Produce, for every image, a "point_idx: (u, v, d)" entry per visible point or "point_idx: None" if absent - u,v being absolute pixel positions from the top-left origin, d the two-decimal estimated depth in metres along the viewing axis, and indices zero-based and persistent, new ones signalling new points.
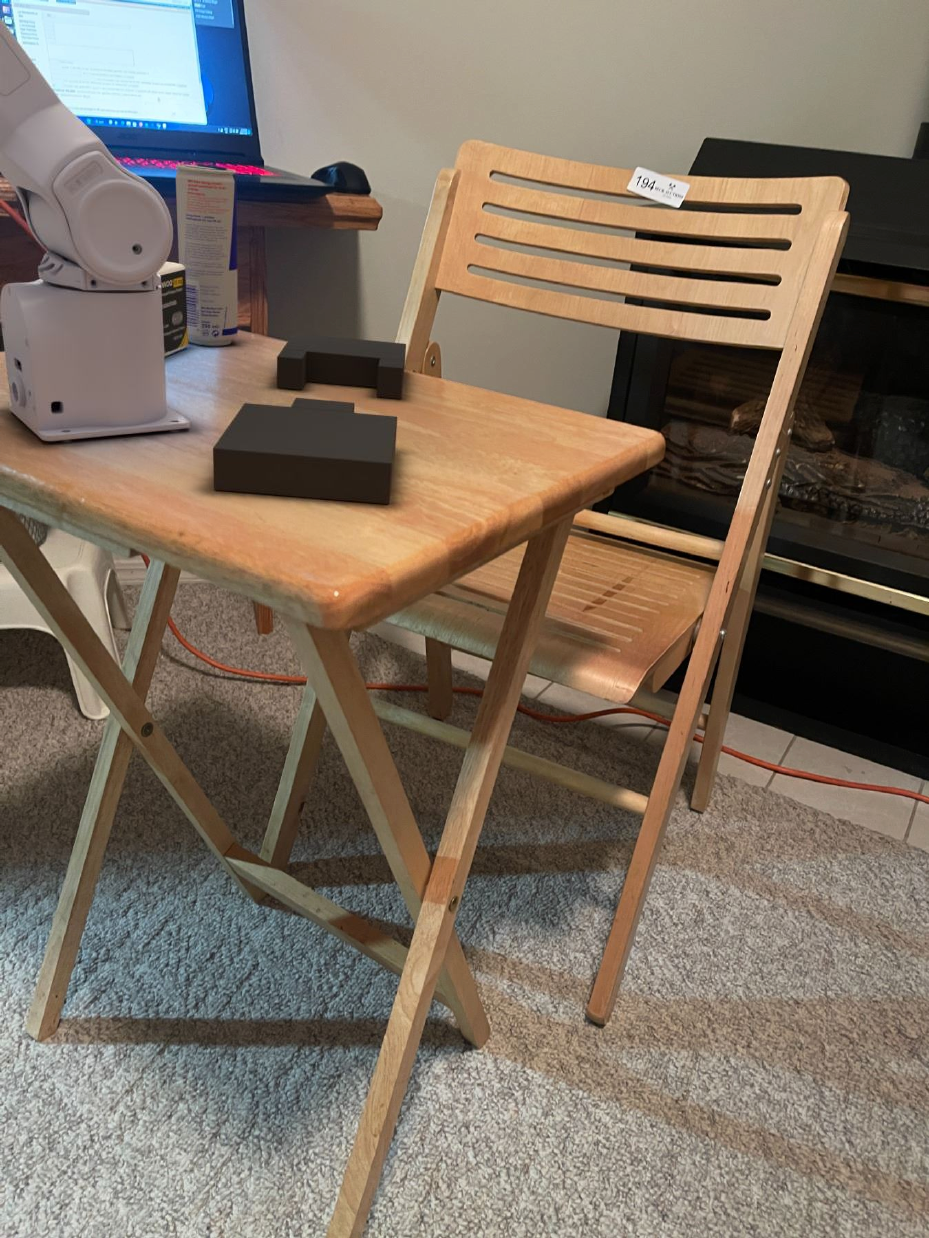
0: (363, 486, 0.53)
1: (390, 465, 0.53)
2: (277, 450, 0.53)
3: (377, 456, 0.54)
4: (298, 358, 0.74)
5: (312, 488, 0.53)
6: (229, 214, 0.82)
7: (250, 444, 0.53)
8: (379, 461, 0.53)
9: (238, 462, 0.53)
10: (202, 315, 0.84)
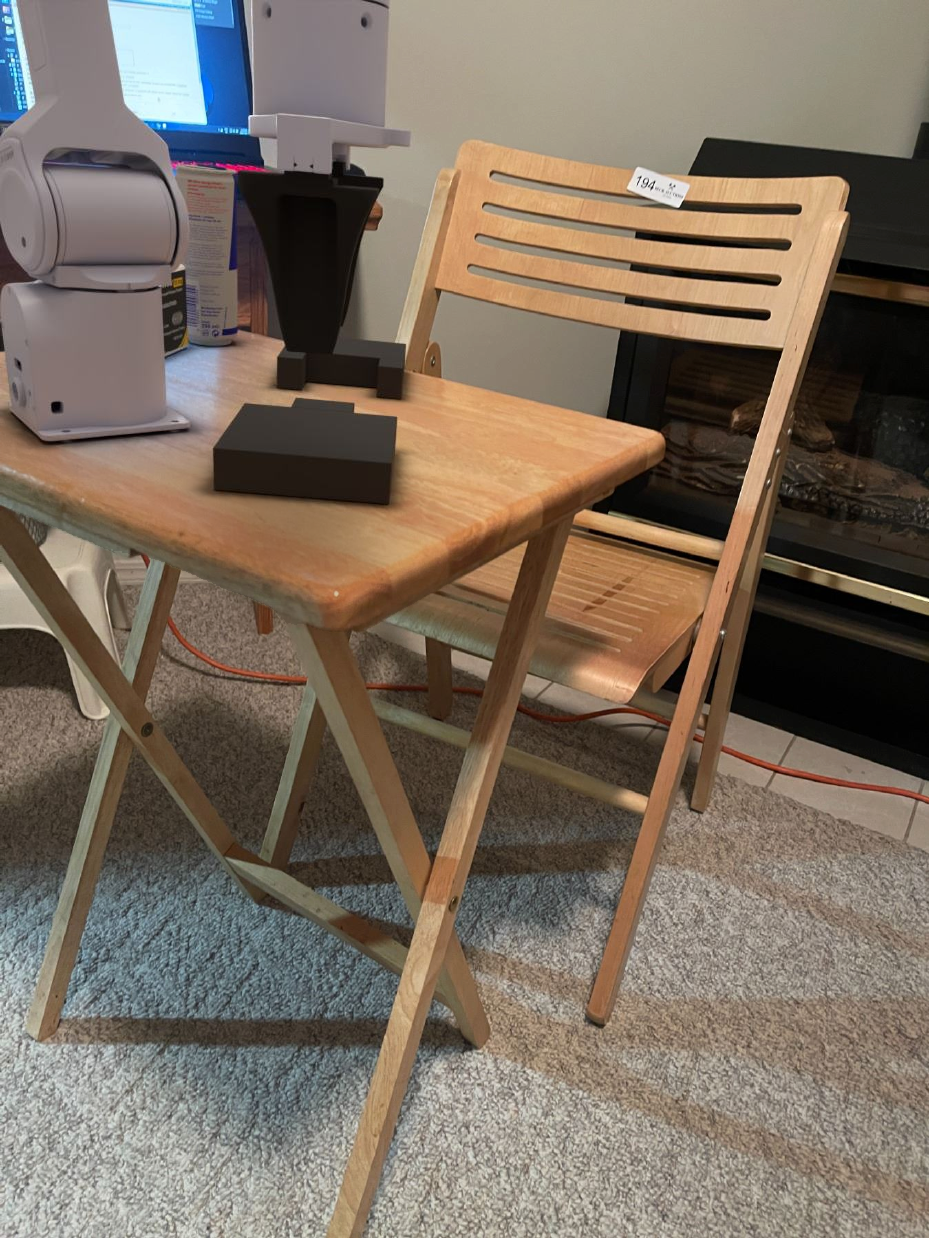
0: (363, 486, 0.53)
1: (390, 465, 0.53)
2: (277, 450, 0.53)
3: (377, 456, 0.54)
4: (298, 358, 0.74)
5: (312, 488, 0.53)
6: (229, 214, 0.82)
7: (250, 444, 0.53)
8: (379, 461, 0.53)
9: (238, 462, 0.53)
10: (202, 315, 0.84)
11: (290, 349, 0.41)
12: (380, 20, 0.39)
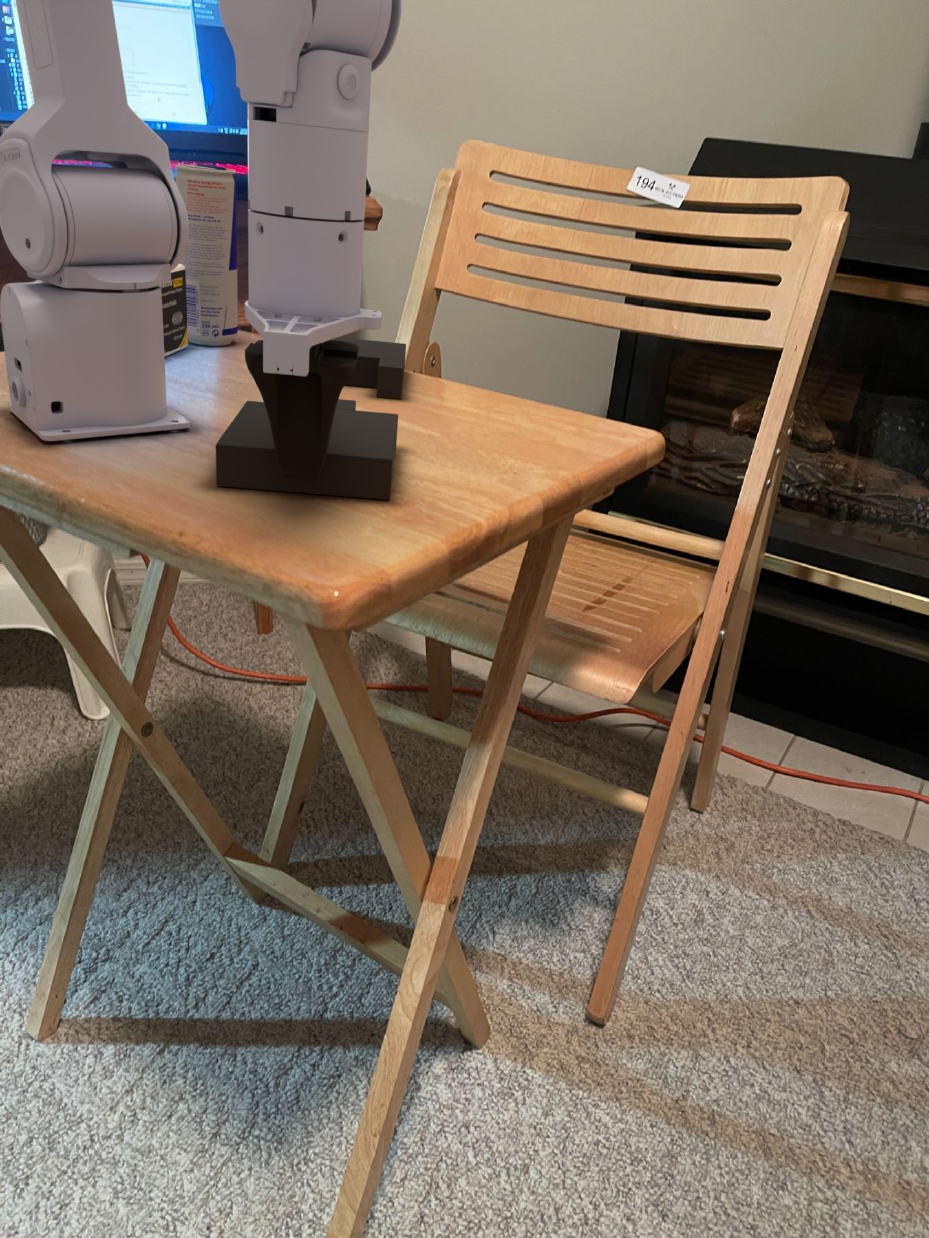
0: (364, 482, 0.54)
1: (391, 461, 0.54)
2: None
3: (378, 452, 0.54)
4: None
5: (314, 484, 0.54)
6: (228, 214, 0.82)
7: (252, 440, 0.54)
8: (380, 457, 0.53)
9: (240, 458, 0.53)
10: (202, 315, 0.84)
11: (285, 476, 0.52)
12: (355, 233, 0.46)
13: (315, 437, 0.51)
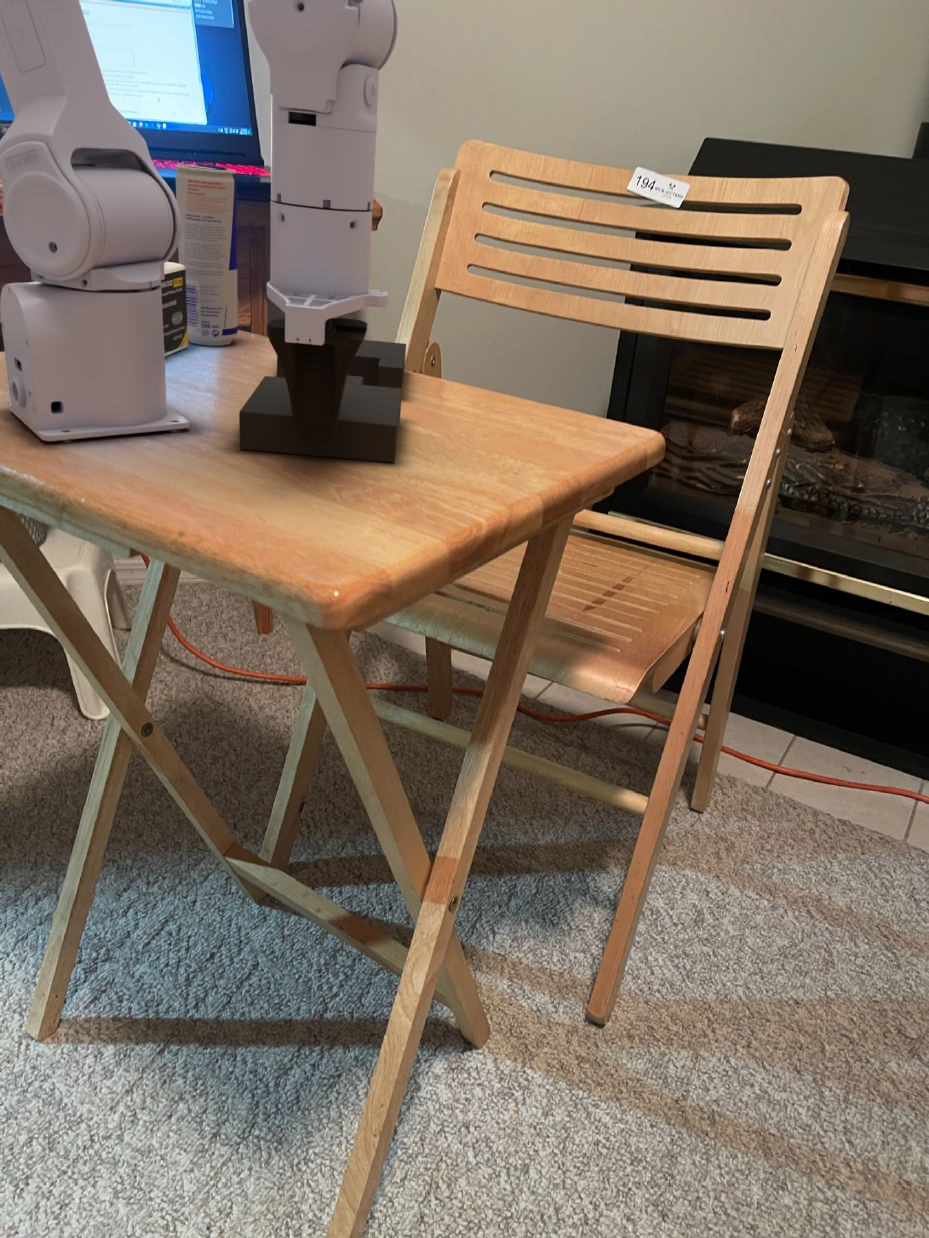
0: (371, 446, 0.60)
1: (395, 427, 0.60)
2: None
3: (384, 420, 0.61)
4: None
5: (326, 448, 0.60)
6: (228, 214, 0.82)
7: (272, 408, 0.60)
8: (386, 423, 0.60)
9: (261, 424, 0.59)
10: (202, 315, 0.84)
11: (301, 439, 0.58)
12: (365, 221, 0.52)
13: (328, 404, 0.57)
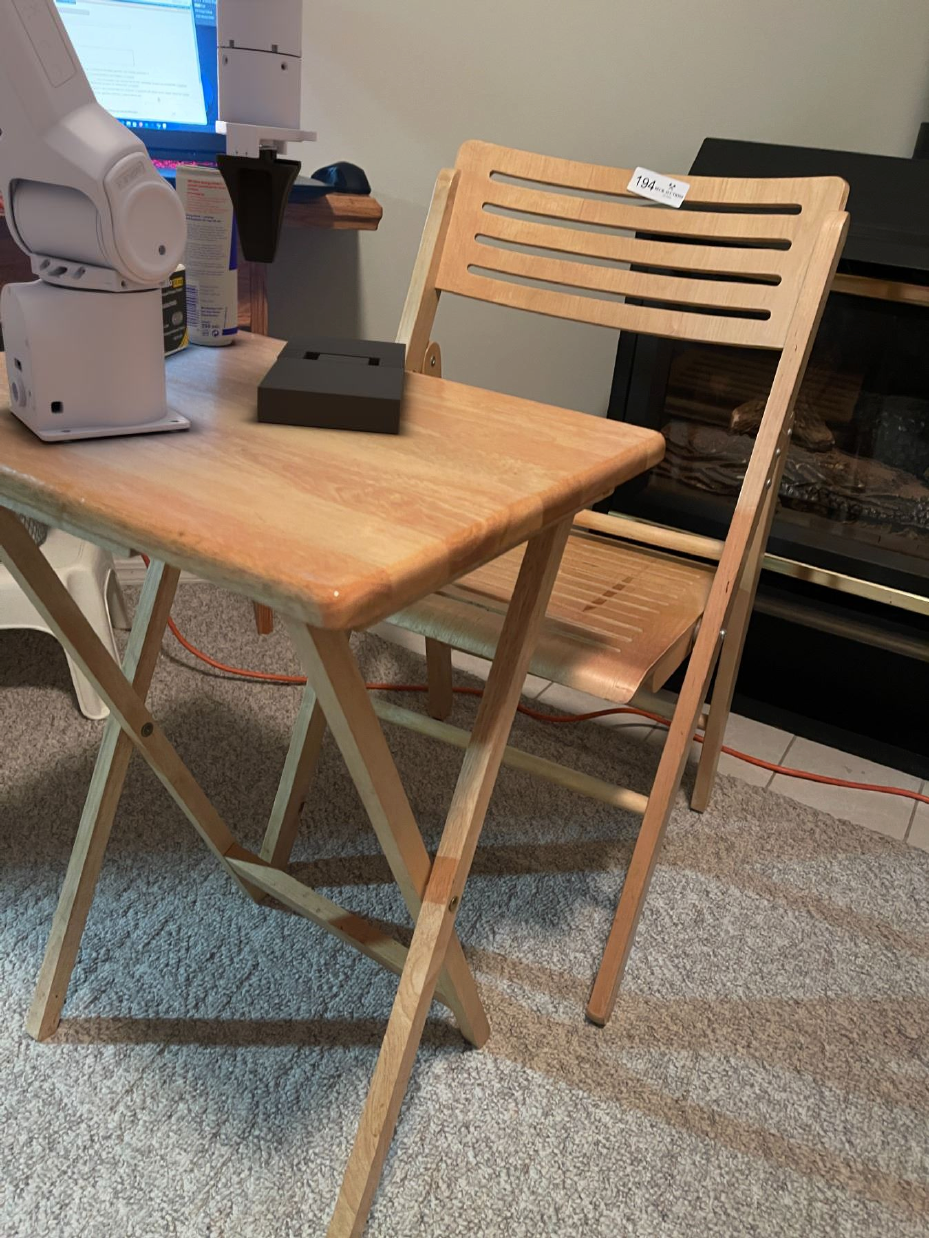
0: (377, 418, 0.66)
1: (399, 401, 0.66)
2: (308, 389, 0.66)
3: (389, 395, 0.67)
4: (298, 358, 0.74)
5: (336, 420, 0.66)
6: (228, 214, 0.82)
7: (286, 384, 0.66)
8: (390, 398, 0.66)
9: (277, 398, 0.65)
10: (202, 315, 0.84)
11: (247, 259, 0.70)
12: (294, 65, 0.64)
13: (268, 227, 0.69)
